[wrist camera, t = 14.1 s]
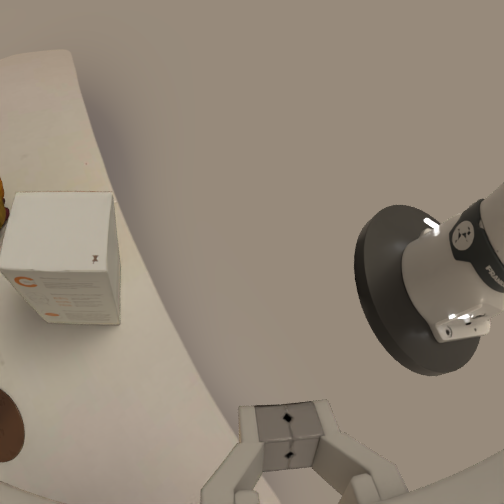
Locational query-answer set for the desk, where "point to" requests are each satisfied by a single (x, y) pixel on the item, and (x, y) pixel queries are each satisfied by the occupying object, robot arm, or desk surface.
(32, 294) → the small box
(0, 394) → the coaster
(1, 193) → the figurine
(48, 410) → the desk surface
